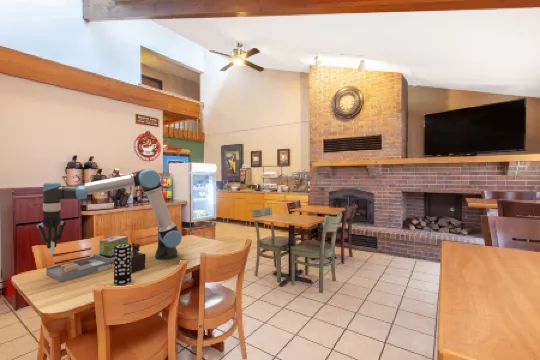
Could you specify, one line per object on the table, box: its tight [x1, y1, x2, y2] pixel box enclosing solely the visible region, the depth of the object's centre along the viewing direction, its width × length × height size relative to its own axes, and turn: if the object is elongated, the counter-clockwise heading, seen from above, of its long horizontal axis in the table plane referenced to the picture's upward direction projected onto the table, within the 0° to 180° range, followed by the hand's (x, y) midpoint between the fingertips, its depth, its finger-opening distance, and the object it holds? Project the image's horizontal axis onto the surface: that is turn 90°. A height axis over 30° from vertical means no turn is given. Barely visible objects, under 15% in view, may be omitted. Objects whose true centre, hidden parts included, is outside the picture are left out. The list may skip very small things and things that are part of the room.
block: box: [61, 263, 78, 274], centre depth 153 cm, size 6×6×4 cm
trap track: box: [45, 253, 112, 283], centre depth 161 cm, size 20×26×6 cm
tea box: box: [98, 235, 129, 264], centre depth 183 cm, size 15×10×15 cm, turn 168°
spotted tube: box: [113, 243, 132, 286], centre depth 146 cm, size 8×8×20 cm
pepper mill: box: [131, 242, 146, 274], centre depth 164 cm, size 16×11×18 cm
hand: (51, 253), depth 146 cm, fingers closed
